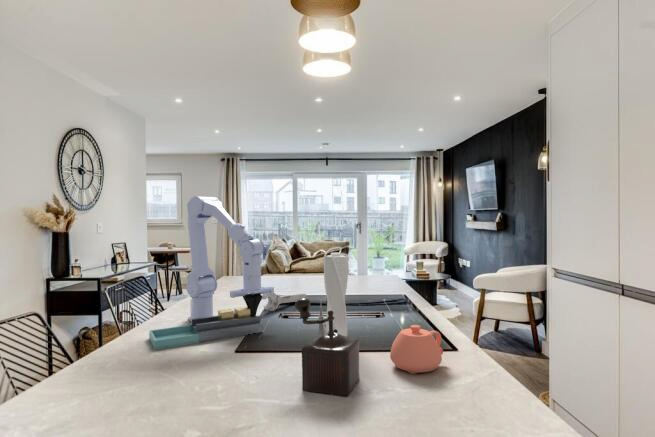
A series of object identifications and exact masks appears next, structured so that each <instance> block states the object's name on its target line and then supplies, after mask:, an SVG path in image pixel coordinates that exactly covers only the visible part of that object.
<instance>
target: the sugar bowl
mask: <svg viewBox="0 0 655 437" xmlns="http://www.w3.org/2000/svg"><path fill="white" fill-rule="evenodd" d="M434 335H436V339H435V336H434ZM441 344H442V334H441V333H440V332H439V331H437V330H430V331H429V330H427V329H423V328H421V325H419V324H412V325H410V328H405V329H401V330H400V332H399V333H398V334H397V335H396V337H395V339H394V341H393V342H392V345H391V348H390V353H389V357H390V360H391V361H392V363H393V364H394V365H395V366H396V367H397V368H398V369H399V370H403V371H406V372H408V374H411V375H416V374H417V373H428V372H433V371H435V370H436V369H437V368H439V367H438V366H440V365H441V363H442V360H443V357H442V355H443V354H444V349H443V348H442V347H441Z"/></svg>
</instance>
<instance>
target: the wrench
mask: <svg viewBox="0 0 655 437" xmlns="http://www.w3.org/2000/svg"><path fill="white" fill-rule="evenodd" d="M261 295H262V300H266V299H268V300H267V301H268V302H267V303H266V304H265V305H264V306H263V309H265V310H267V311H270V312H274V311H275V309H276V308H277V307H278V306H279V305H280V304H285V303H293V302H296V301H298V300H299V299H302V298H307V295H306V293H294V294H287V295H286V294H285V295H278V294H276V293H275V292H274V293H267V294H261Z"/></svg>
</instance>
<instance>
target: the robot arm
mask: <svg viewBox="0 0 655 437" xmlns="http://www.w3.org/2000/svg"><path fill="white" fill-rule="evenodd" d="M186 208H187V228H188V236H189V237H188V238H189V247H190V255H191V265H192V270H191V271H190V272H189V273H188V274H187V276H186V280H187V282H186V286H185V287H186V292H187V294H188V296H189V297H190V298H191V299H190V316H189V317H187V319H188V320H189V322H191V319H195V318H203V317H210V316H214V305H213V304H214V298H213V296H214V295H215V292H216V291H217V288H218V280H217V279H216V276H215V271H214V270H212V268H210V266H209V260H208V258H209V257H208V249H207V247H208V246H207V239H206V230H205V224H206V223H207V221H208V220H209V219H211V218H212V217H213V218H214V219H215V220H217V221H218V222H219V223H220V224H221V225H222V226H223V227H224V228H225V229H226V230H227V236H228V237H229V238H230V240H232V242H233V243H234V244H236V246H238V252H239V254H240V256H241V261H242V266H243V269H242V272H243V273H242V275H243V276H242V278H243V283H242V284H243V285H242V286H243V288H239V289H235V290H229V297H230V298H231V299H232V298H234V299H235V298H239V297H240V298H241V297H242V299H243V300H244V302H245V305H246V307H247V308H249V309H250V317H252V316H257V312H258V308H259V305H260V304H261V302H262V300H263V299H262V295H263V294H267V293H275V287H273V286H262V266H261V265H262V262H261V260H262V257H261V256H262V254H264V251H265V244H264V242H263V241H262V239H260V238H256V237H255V236H254V235H253V234H251V233H250V232H249V231H248V230H247V228H246V225H245V224H242V223H240V222H239V223H236V222H235V221H234V219H233V218H232V216H230V214H229V213H228V212H227V210H226V209H225V208H224V207H223V203H222V202H221V201H220V200H219V198H218V197H216V196H198V195H193V196H192V197H191V198H190V199H189V201H188V202H187V203H186Z"/></svg>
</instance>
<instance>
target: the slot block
mask: <svg viewBox="0 0 655 437" xmlns="http://www.w3.org/2000/svg"><path fill="white" fill-rule="evenodd" d="M261 319H262V318H261V315H256V316H252V317H245V318H237V319H230V320H223V321H218V315H213V316H210V317H203V318H195V319H191V321H190V323H189V325H190V332H191V333H192V334H199V344H200V343H207V342H211V341H212V342H213V341H218V340H224V339H230V338H235V337H242V336H243V337H244V336H248V334H250V335H254V334H253V333H256V334H261V333H260V332H262V333H264V332H263V330H264V329H263V328H264V327H263V326H264V325H263V322H261Z"/></svg>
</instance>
